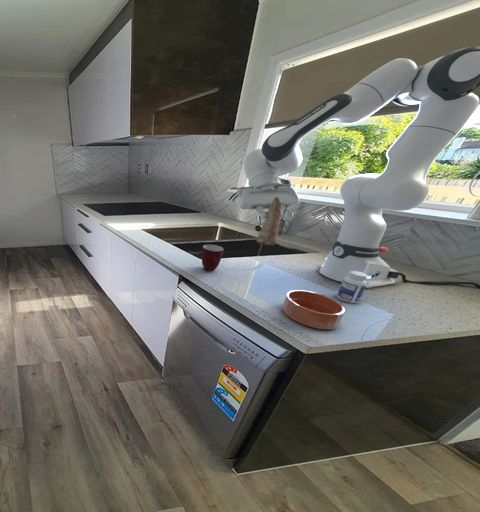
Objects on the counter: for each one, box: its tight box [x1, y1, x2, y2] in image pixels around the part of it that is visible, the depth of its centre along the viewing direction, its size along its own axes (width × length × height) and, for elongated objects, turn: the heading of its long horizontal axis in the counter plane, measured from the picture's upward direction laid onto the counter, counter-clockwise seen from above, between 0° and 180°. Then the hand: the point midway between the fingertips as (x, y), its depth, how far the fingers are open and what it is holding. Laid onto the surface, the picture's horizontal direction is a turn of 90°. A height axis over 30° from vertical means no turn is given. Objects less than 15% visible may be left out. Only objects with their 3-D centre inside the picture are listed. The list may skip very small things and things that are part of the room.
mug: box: [201, 244, 225, 272], centre depth 102 cm, size 10×8×10 cm
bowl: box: [281, 289, 346, 330], centre depth 73 cm, size 13×13×6 cm
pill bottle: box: [336, 271, 367, 304], centre depth 81 cm, size 5×5×10 cm
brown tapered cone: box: [255, 197, 282, 246], centre depth 90 cm, size 6×18×6 cm
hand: (273, 217), depth 89 cm, fingers closed on brown tapered cone, 4 cm apart
